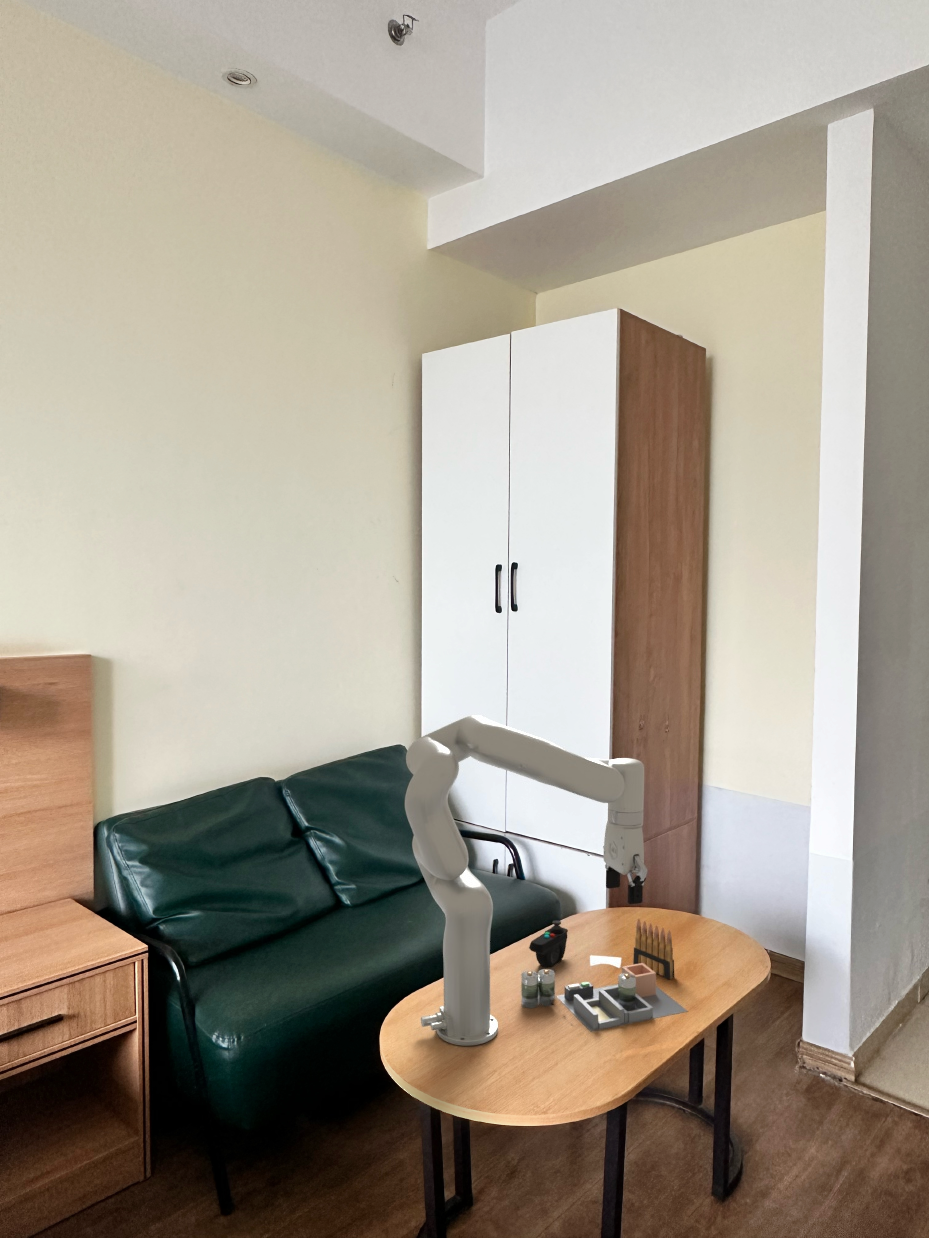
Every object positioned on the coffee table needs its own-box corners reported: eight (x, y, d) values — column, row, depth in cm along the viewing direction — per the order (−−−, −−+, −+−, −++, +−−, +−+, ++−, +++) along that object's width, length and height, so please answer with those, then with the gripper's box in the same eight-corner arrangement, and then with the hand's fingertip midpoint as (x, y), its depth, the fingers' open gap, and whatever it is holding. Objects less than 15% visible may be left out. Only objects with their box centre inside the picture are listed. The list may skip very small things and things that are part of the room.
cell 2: (542, 1007, 191) (542, 975, 190) (535, 999, 194) (535, 968, 194) (557, 1004, 192) (557, 972, 192) (550, 996, 195) (550, 965, 195)
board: (590, 1036, 179) (590, 1016, 179) (555, 1000, 194) (555, 982, 194) (688, 1015, 187) (688, 997, 186) (647, 982, 202) (647, 965, 202)
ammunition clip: (632, 968, 209) (633, 918, 209) (637, 965, 210) (638, 916, 210) (669, 984, 201) (670, 932, 200) (674, 981, 202) (675, 930, 202)
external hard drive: (623, 964, 213) (622, 988, 201) (588, 961, 214) (585, 985, 202) (623, 957, 213) (622, 981, 200) (588, 954, 214) (585, 978, 202)
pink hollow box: (634, 998, 192) (634, 976, 192) (621, 987, 197) (621, 966, 197) (655, 994, 194) (655, 972, 194) (642, 983, 199) (642, 962, 199)
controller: (570, 960, 213) (570, 920, 213) (542, 979, 204) (542, 937, 203) (555, 956, 216) (555, 915, 215) (526, 974, 206) (526, 932, 206)
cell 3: (623, 1012, 186) (624, 979, 186) (614, 1004, 190) (615, 972, 189) (638, 1009, 187) (639, 976, 187) (629, 1001, 191) (629, 969, 190)
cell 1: (525, 1009, 190) (525, 977, 190) (518, 1001, 193) (518, 969, 193) (541, 1006, 191) (541, 974, 191) (534, 998, 195) (533, 967, 194)
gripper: (591, 807, 197) (589, 883, 198) (629, 829, 181) (627, 911, 182) (621, 805, 200) (619, 880, 201) (662, 826, 183) (660, 907, 184)
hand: (623, 895), depth 191 cm, fingers open, 9 cm apart
